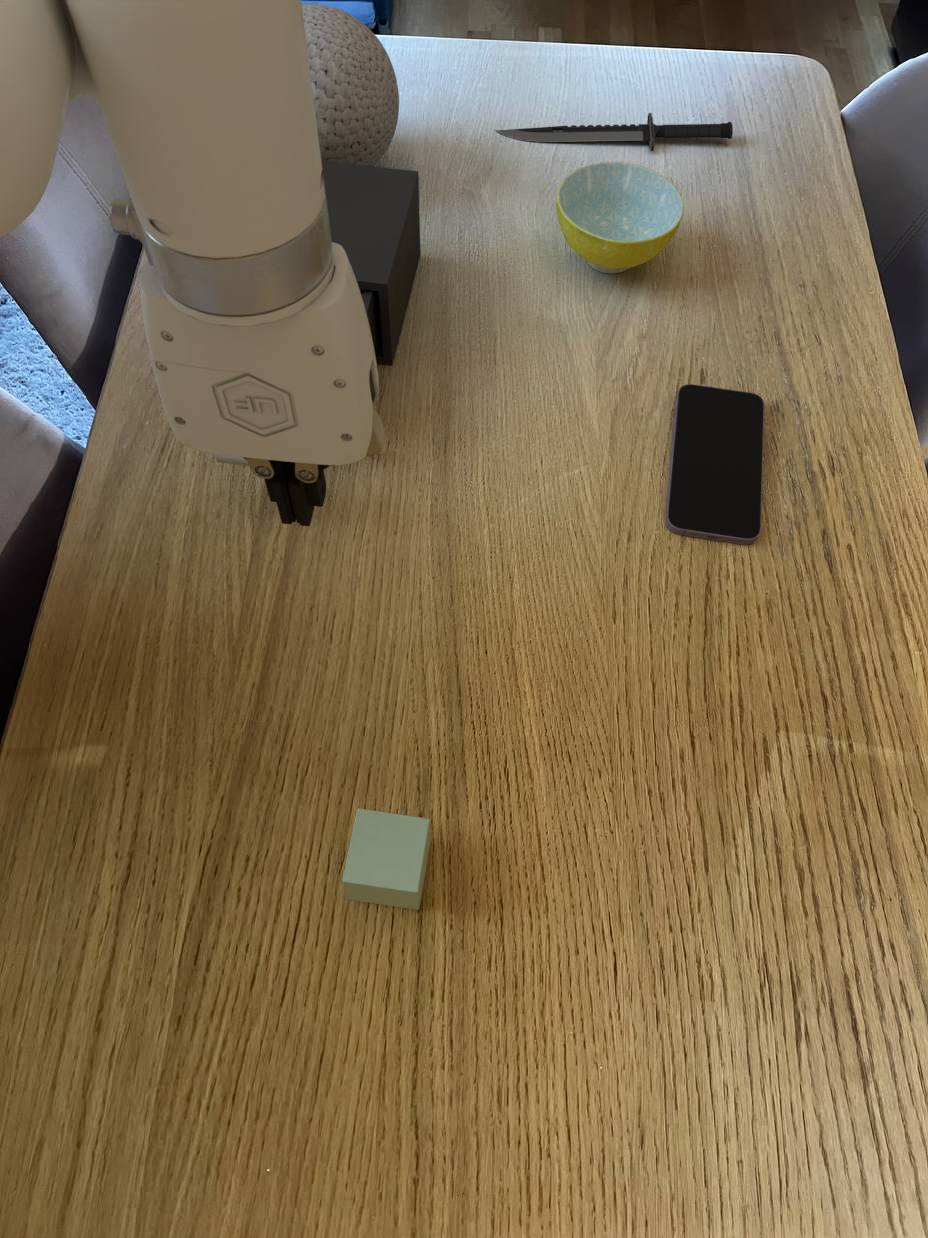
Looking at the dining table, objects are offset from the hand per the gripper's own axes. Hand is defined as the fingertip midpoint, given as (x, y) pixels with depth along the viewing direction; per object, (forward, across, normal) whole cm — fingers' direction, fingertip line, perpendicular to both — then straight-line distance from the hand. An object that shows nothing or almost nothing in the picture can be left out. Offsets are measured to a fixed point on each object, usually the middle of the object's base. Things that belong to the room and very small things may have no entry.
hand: (301, 505), depth 54 cm
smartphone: (+14, +28, +18) cm, 36 cm away
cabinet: (+13, -5, +33) cm, 36 cm away
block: (+14, +7, -17) cm, 23 cm away
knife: (+14, +18, +62) cm, 66 cm away
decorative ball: (+14, -10, +51) cm, 54 cm away
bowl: (+14, +19, +42) cm, 49 cm away
